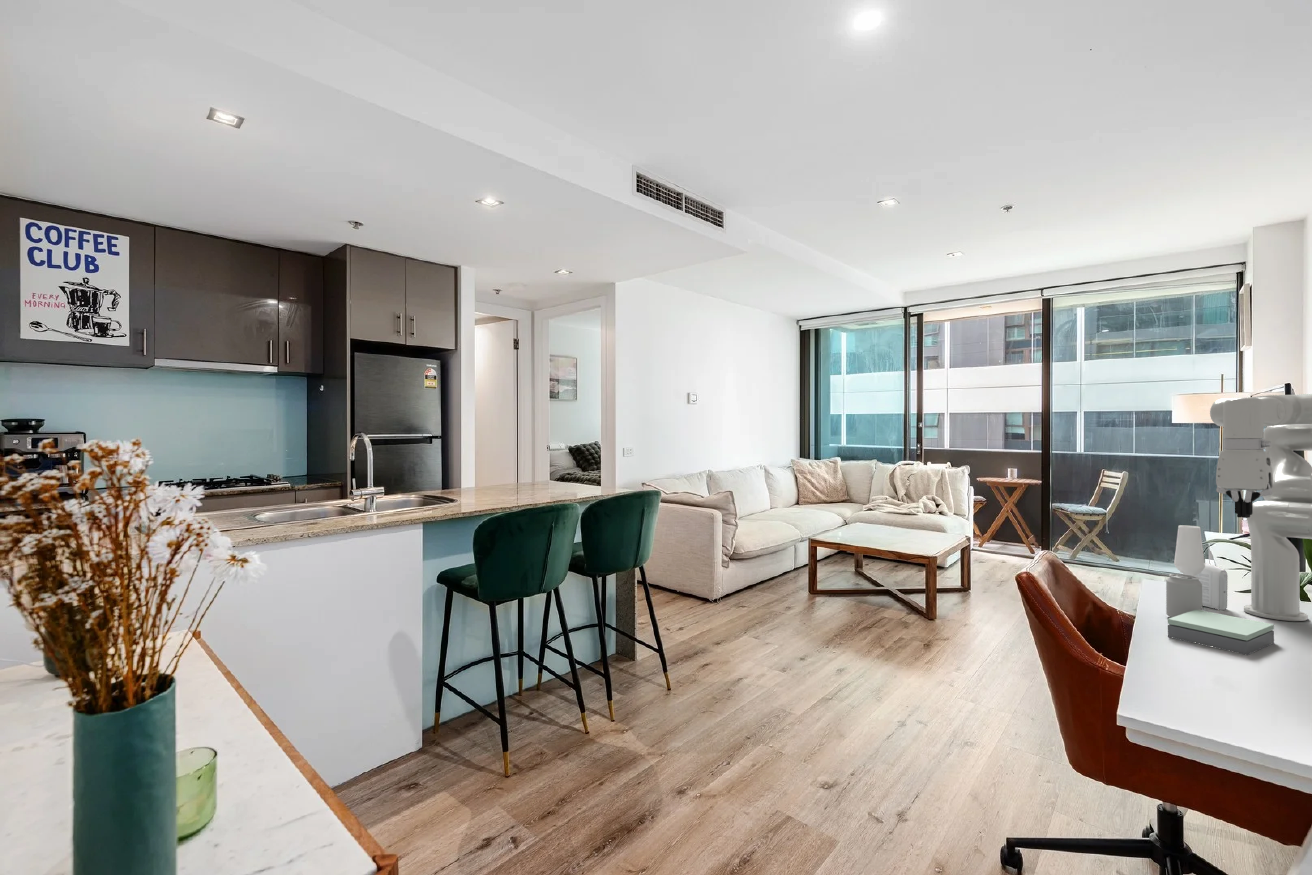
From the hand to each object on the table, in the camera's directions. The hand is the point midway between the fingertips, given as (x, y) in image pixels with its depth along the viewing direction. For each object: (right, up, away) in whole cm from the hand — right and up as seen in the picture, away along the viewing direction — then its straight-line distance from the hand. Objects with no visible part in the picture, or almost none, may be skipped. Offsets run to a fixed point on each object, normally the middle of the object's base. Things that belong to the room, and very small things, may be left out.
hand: (1243, 517), depth 160 cm
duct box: (-12, -29, -7) cm, 33 cm away
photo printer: (+10, -29, +23) cm, 39 cm away
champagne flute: (+2, -29, +18) cm, 34 cm away
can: (-7, -29, +10) cm, 32 cm away
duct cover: (-12, -26, -7) cm, 30 cm away
